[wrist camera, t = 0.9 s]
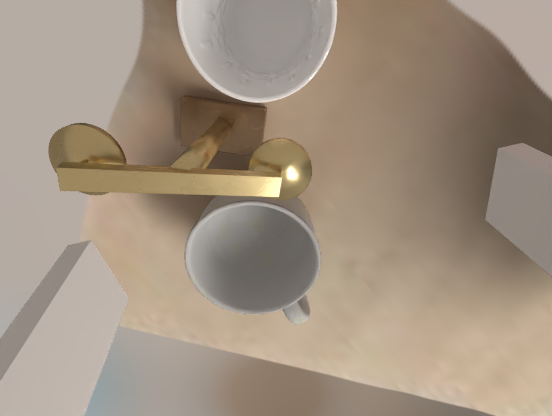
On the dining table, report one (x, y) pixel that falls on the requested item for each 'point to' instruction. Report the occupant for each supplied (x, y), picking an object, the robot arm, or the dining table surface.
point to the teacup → (255, 255)
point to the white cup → (257, 43)
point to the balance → (186, 157)
